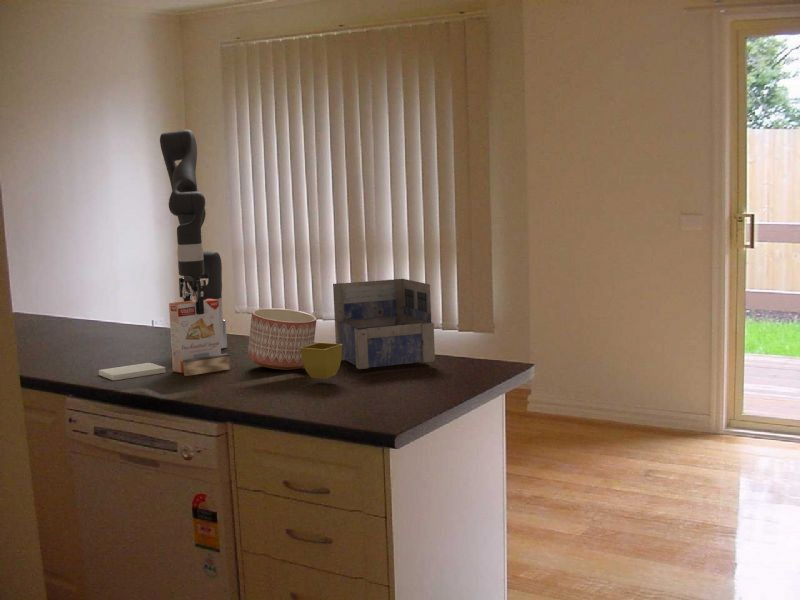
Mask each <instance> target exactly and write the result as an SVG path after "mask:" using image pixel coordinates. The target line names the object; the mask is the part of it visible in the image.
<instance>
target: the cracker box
mask: <svg viewBox="0 0 800 600" xmlns="http://www.w3.org/2000/svg"><path fill="white" fill-rule="evenodd" d="M203 302H204V314H200V315H198V314H196V301H195V300H194V299H191V301H184V300H183V301H177V302H176V301H175V302H170V303H168V307H169V308H168V313H169V327H170V330H169V331H170V344H171V345H170V346H171V361H172V365H171V366H172V371H173V372H175V373H178V374H184V365H183V360H186V359H192V358H199V357H206V356H213V355H220V354H222V349H221V340H220V319H219V300H216V299H206V300H205V301H203Z"/></svg>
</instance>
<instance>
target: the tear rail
mask: <svg viewBox="0 0 800 600" xmlns="http://www.w3.org/2000/svg"><path fill="white" fill-rule="evenodd" d="M183 365H184V373H183V375H184V376H185V377H189V376H195V375H200V374H201V375H202V374H208V373H213V372H221V371H226V370H227V371H228V370H230V369H231V366H230V354H229V353H221V354H220V355H213V356H206V357H199V358H192V359H186V360H183Z"/></svg>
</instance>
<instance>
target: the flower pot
mask: <svg viewBox="0 0 800 600" xmlns="http://www.w3.org/2000/svg"><path fill="white" fill-rule="evenodd" d="M300 350H301V356H302V361H303V365H304V367H303V368H304V369H305V372H306V373H307V374H308V376H309V377H310V378H312V379H322V380H325V379H328V378H332V377H334V376H336V374H337V373H338V371H339V369H340V366H341V362H342V358H341V356H342V344H336V343H331V342H330V343H329V342H316V343H315V342H314V344H312V345H308V346H304V347H301V348H300Z"/></svg>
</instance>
